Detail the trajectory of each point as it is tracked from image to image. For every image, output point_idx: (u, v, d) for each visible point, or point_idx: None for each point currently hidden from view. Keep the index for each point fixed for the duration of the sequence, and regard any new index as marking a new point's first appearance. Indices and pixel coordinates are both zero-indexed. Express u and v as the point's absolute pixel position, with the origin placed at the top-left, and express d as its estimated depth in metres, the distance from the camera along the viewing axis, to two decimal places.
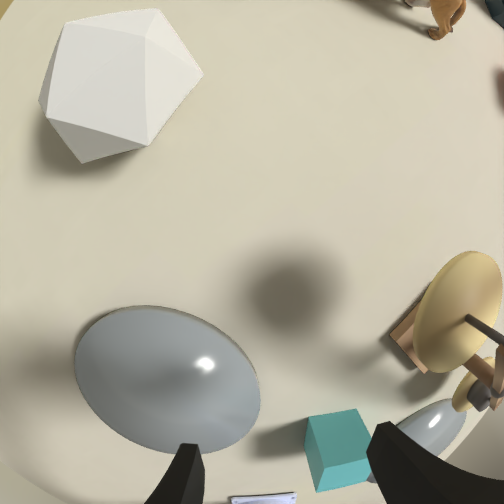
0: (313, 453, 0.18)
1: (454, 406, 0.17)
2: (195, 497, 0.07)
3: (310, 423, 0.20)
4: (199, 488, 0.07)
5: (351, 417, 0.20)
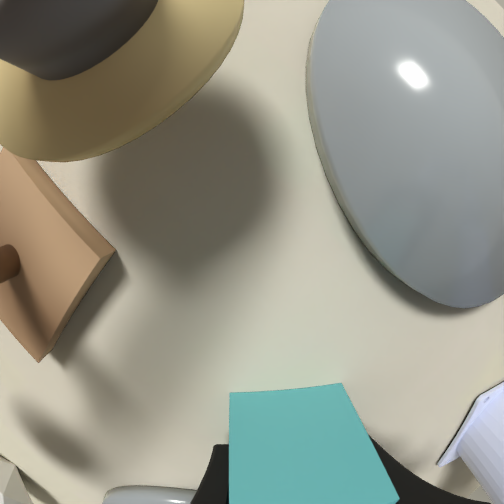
0: None
1: (141, 121, 0.04)
2: None
3: None
4: None
5: None
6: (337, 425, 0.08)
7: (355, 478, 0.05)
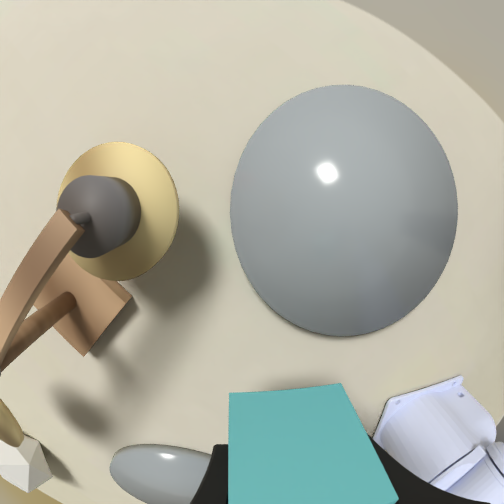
0: None
1: (144, 271, 0.11)
2: None
3: None
4: None
5: None
6: (336, 425, 0.08)
7: (354, 478, 0.05)
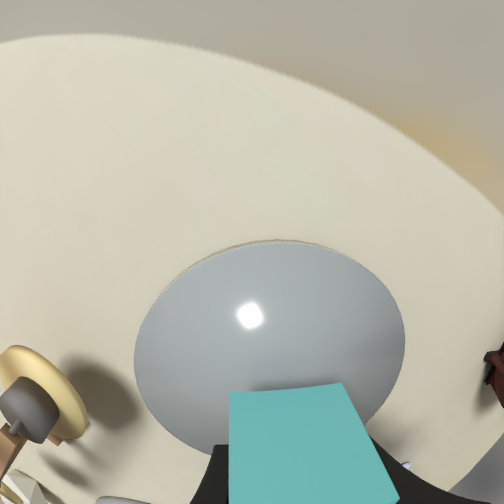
0: None
1: (74, 437, 0.10)
2: None
3: None
4: None
5: None
6: (337, 425, 0.08)
7: (355, 478, 0.05)
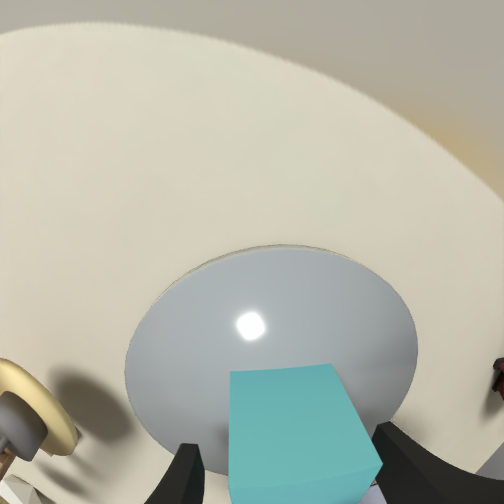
0: None
1: None
2: (195, 497, 0.07)
3: None
4: (199, 488, 0.07)
5: None
6: (326, 398, 0.09)
7: (341, 444, 0.07)
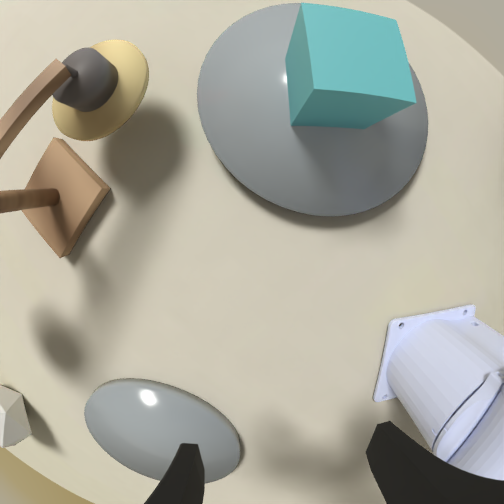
0: (338, 112, 0.12)
1: (114, 125, 0.11)
2: (195, 497, 0.07)
3: (295, 122, 0.14)
4: (199, 488, 0.07)
5: (288, 62, 0.13)
6: None
7: None
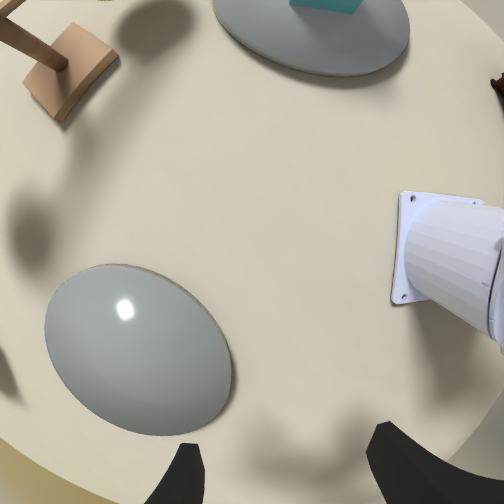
0: None
1: None
2: (195, 497, 0.07)
3: None
4: (199, 488, 0.07)
5: None
6: None
7: None
